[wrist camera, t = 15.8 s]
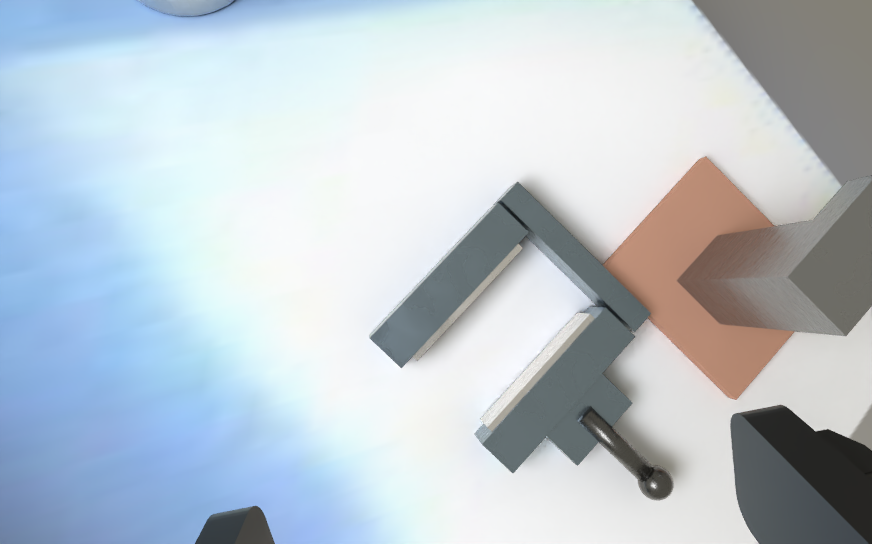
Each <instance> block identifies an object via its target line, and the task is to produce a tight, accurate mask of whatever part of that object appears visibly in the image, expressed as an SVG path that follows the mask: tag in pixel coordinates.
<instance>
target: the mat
mask: <svg viewBox="0 0 872 544" xmlns="http://www.w3.org/2000/svg"><path fill="white" fill-rule="evenodd" d="M773 226H774V225H773V224H772V223H771V222H770V221H769V220H768V219H767V218H766V217H765V216H764V215H763V214H762V213H761V212H760V211H759V210H758V209H757V208H756V207H755V206H754V205H753V204H752V203H751V202H750V201H749V200H748V199H747V198H746V197H745V196H744V195H743V194H742V193H741V192H740V191H739V190H738V189H737V188H736V187H735V186H734V184H733V183H732V182H731V181H730V180H729V179H728V178H727V177H726V176H725V175H724V174H723V173H722V172H721V171H720V170H719V169H718V168H717V167H716V166H715V165H714V164H713V163H712V162H711V161H710V160H709V159H708V158H707V157H704V158H701V159H699V160H698V161H697V162H696V163H695V164H694V165H693V166H692V168H691V169H690V170H689V171H688V172H687V173H686V174H685V175H684V176H683V177H682V179H681V180H680V181H679V182H678V183H677V184H676V185H675V186H674V187H673V188H672V189H671V191H670V192H669V193H668V194H667V195H666V196H665V197H664V198H663V199H662V200H661V202H660V203H659V204H658V205H657V206H656V207H655V208H654V209H653V210H652V211H651V212H650V214H649V215H648V216H647V217H646V218H645V219H644V220H643V221H642V222H641V223H640V225H639V226H638V227H637V228H636V229H635V230H634V231H633V232H632V233H631V234H630V235H629V237H628V238H627V239H626V240H625V241H624V242H623V243H622V244H621V245H620V246H619V248H618V249H617V250H616V251H615V252H614V253H613V254H612V255H611V256H610V257H609V258H608V260H607V261H606V262H605V263H604V264H603V266H604V267H605V268H606V269H607V270H608V271H609V272H610V273H611V274H612V275H613V276H614V277H615V278H616V279H617V280H618V281H619V282H620V283H621V284H622V285H623V286H624V287H625V288H626V289H627V290H628V291H629V292H630V293H631V294H632V295H633V296H634V297H635V298H636V299H637V300H638V301H639V302H640V303H641V304H642V305H643V306H644V307H645V308H646V309H647V310H648V311H649V312H650V313H651V314H650V316H649V317H648V319H649V320H650V321H651V322H652V323H653V324H654V325H655V326H656V327H657V328H658V329H659V330H660V331H661V332H662V333H663V334H665V335H666V336H667V337H668V338H669V339H670V340H671V341H672V342H673V343H674V344H675V345H676V346H677V347H678V348H679V349H680V350H681V351H682V352H683V353H684V354H685V355H686V356H687V357H688V358H689V359H690V360H691V361H692V362H693V363H694V364H695V365H696V366H697V367H698V368H699V369H700V370H701V371H702V372H703V373H704V374H705V375H706V376H707V377H708V378H709V379H710V380H711V381H712V382H713V383H714V384H715V385H716V386H717V387H718V388H719V389H720V390H721V391H722V392H723V393H724V394H725V395H726V396H728V397H729V398H732V399H735V400H736V399H737V398H738V397H739V396H740V395H741V394H742V392H743V391H744V390H745V389H746V388H747V387H748V385H749V384H750V383H751V382H752V381H753V380H754V378H755V377H756V376H757V375H758V374H759V372H760V371H761V370H762V369H763V368H764V367H765V365H766V364H767V363H768V362H769V361H770V360H771V358H772V357H773V356H774V355H775V354H776V353H777V351H778V350H779V349H780V348H781V347H782V346H783V344H784V343H785V342H786V341H787V340H788V339H789V337H790V336H791V335H792V334H793V333H794V332H795V331H786V330H775V329H765V328H754V327H744V326H733V325H722V324H719V323H718V322H717V321H716V320H715V319H714V318H713V317H712V316H711V315H710V314H709V313H708V312H707V311H706V310H705V309H704V308H703V307H702V306H701V305H700V304H699V303H698V302H697V301H696V300H695V299H694V298H693V297H692V296H691V295H690V294H689V293H688V292H687V291H686V290H685V289H684V288H683V287H682V286H681V285H680V284H679V283H678V282H677V281H676V280H677V279H678V278H679V277H680V276H681V275H682V274H683V273H684V272H685V271H686V269H687V268H688V267H689V266H690V265H691V264H692V263H693V262H694V261H695V259H696V258H697V257H698V256H699V255H700V254H701V253H702V252H703V251H704V249H705V248H706V247H707V246H708V245H709V244H710V243H711V242H712V241H713V239H714V238H715V237H716V236H717V235H724V234H730V233H736V232H742V231H749V230H755V229H761V228H767V227H773Z"/></svg>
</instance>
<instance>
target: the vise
mask: <svg viewBox="0 0 872 544" xmlns="http://www.w3.org/2000/svg"><path fill="white" fill-rule="evenodd" d="M525 236H526V237H527V238H528V239H529V240H530V241H531V242H532V243H533V244H534V245H535V246H536V247H537V248H538V249H540V250H541V251H542V252H543V253H544V254H545V255H546V256H547V257H548V258H549V259H550V260H551V261H552V262H553V263H554V264H555V265H556V266H557V267H558V268H559V269H560V270H561V271H562V272H563V273H564V274H565V275H566V276H567V277H568V278H569V279H570V280H571V281H572V282H573V283H574V284H575V285H576V286H577V287H578V288H579V289H580V290H581V291H582V292H583V293H584V294H585V295H587V296H588V297H589V298H590V299H591V300H592V301H593V302H594V303H595V304H596V305H597V306H598V307H591V306H590V307H589V308H588V309H587V310H586V311H585V312H584V313H576V314H575V316H574V317H573V318H572V319H571V320H570V321H569V322H568V323H567V324H566V325H565V327H564V328H563V329H562V330H561V331H560V332H559V333H558V334H557V335H556V336H555V338H554V339H553V340H552V341H551V342H550V343H549V344H548V345H547V346H546V347H545V349H544V350H543V351H542V352H541V353H540V354H539V355H538V356H537V357H536V358H535V360H534V361H533V362H532V363H531V364H530V365H529V366H528V367H527V368H526V369H525V371H524V372H523V373H522V374H521V375H520V376H519V377H518V378H517V379H516V380H515V382H514V383H513V384H512V385H511V386H510V387H509V388H508V389H507V390H506V391H505V393H504V394H503V395H502V396H501V397H500V398H499V399H498V400H497V401H496V402H495V404H494V405H493V406H492V407H491V408H490V409H489V410H488V411H487V412H486V413H485V415H484V416H483V417H482V418H481V421H482V422H483V423H484V424H483V425H482V426H481V427H480V428H479V429H478V430H477V432H476V433H475V435H476V437H477V438H478V439H479V441H480V442H481V443H482V445H483V446H484V447H486V448H487V449H488V450H489V451H490V452H491V453H492V454H493V455H494V456H495V457H496V458H497V459H498V460H499V461H500V462H501V463H502V464H504V465H505V466H506V467H507V468H508V469H509V470H510V471H511V472H512V473H514V472H515V471H516V470H517V469H518V467H519V466H520V465H521V464H522V463H523V462H524V461H525V460H526V458H527V457H528V456H529V455H530V454H531V453H532V452H533V451H534V449H535V448H536V447H537V446H538V445H539V444H540V443H541V442H542V440H543V439H544V438H545V437H547V438H548V439H549V440H550V441H551V442H552V443H553V444H554V445H555V446H556V447H557V448H558V449H559V450H560V451H561V452H562V453H563V454H564V455H566V456H567V457H568V458H569V459H570V460H571V461H573V462H574V463H575V464H576V465H577V466H578V465H579V464H580V462H581V461H582V460H583V459H584V458H585V457H586V456H587V454H588V453H589V452H590V451H591V450H592V449H593V448H594V446H595V445H596V444H597V443H598V442H599V443H600V444H602V445H603V446H604V447H605V448H606V449H607V450H608V451H609V452H610V453H611V454H612V455H613V456H614V457H615V458H616V459H617V460H618V461H619V462H620V463H621V464H622V465H623V466H624V467H625V468H627V469H628V470H629V471H630V472H631V473H632V474H633V475H634V476H635V477H636V478H637V479H638V485H639V488H640V490H641V491H642V493H643V494H644V495H645V496H646V497H648V498H650V499H652V500H663V499H665V498H667V497H668V496H669V495H670V494H671V492H672V490H673V479H672V477H671V475H670V473H669V472H668V471H667V470H666V469H664V468H663V467H661V466H658V465H651V464H650V463H649V462H648V461H647V460H646V459H645V458H644V457H643V456H642V455H641V454H640V453H639V452H638V451H637V450H636V449H635V448H634V447H633V446H631V445H630V444H629V443H628V442H627V441H626V440H625V439H624V438H623V437H622V436H621V435H620V434H619V433H618V432H617V431H616V430H615V429H614V428H613V427H612V426H613V425H614V424H615V422H616V421H617V420H618V419H619V418H620V417H621V416H622V415H623V413H624V412H625V411H626V410H627V409H628V408H629V407H630V405H631V404H632V402H631V401H630V400H629V399H628V398H627V397H626V396H625V395H624V394H623V393H622V392H621V391H620V390H619V389H618V388H617V387H616V386H614V385H613V384H612V383H611V382H610V381H609V380H608V379H607V378H606V377H605V376H604V375H603V374H602V373H603V372H604V371H605V370H606V369H607V367H608V366H609V365H610V364H611V363H612V362H613V361H614V360H615V358H616V357H617V356H618V355H619V354H620V353H621V352H622V351H623V349H624V348H625V347H626V346H627V345H628V344H629V343H630V342H631V340H632V339H633V338H634V337H635V336H634V335H633V334H632V333H631V332H630V331H636V330H637V329H638V328H639V327H640V326H641V324H642V323H643V322H644V321H645V320H646V319H647V318H648V317H649V316H650V314H651V313H650V312H649V311H648V310H647V309H646V308H645V307H644V306H643V305H642V304H641V303H640V302H639V301H638V300H637V299H636V298H635V297H634V296H633V295H632V294H631V293H630V292H629V291H628V290H627V289H626V288H625V287H624V286H623V285H622V284H621V283H620V282H619V281H618V280H617V279H616V278H615V277H614V276H613V275H612V274H611V273H610V272H609V271H608V270H607V269H606V268H605V267H604V266H603V265H602V264H601V263H600V262H599V261H598V260H597V259H595V258H594V257H593V256H592V255H591V254H590V253H589V252H588V251H587V250H586V249H585V248H584V247H583V246H582V245H581V244H580V243H579V242H578V241H577V240H576V239H575V238H574V237H573V236H572V235H571V234H570V233H569V232H568V231H567V230H566V229H565V228H564V227H563V226H562V225H561V224H560V223H559V222H558V221H557V220H556V219H555V218H554V217H553V216H552V215H551V214H550V213H549V212H548V211H547V210H546V209H545V208H544V207H543V206H542V205H541V204H540V203H539V202H538V201H537V200H536V199H535V198H534V197H533V196H532V195H531V194H530V193H528V192H527V191H526V190H525V189H524V188H523V187H522V186H521V185H520V184H519V183H518V182H517V183H515V184H514V185H513V186H511V187H510V188H509V189H508V190H507V191H506V192H505V193H504V194H503V195H502V196H501V197H500V198H499V199H498V200H497V201H496V203H495V204H494V206H493V207H491V208H490V209H489V210H488V211H487V212H486V213H485V214H484V215H483V216H482V217H481V218H480V219H479V220H478V221H477V222H476V224H475V225H474V226H473V227H472V228H471V229H470V230H469V231H468V232H467V233H466V234H465V235H464V236H463V237H462V238H461V239H460V240H459V241H458V242H457V243H456V245H455V246H454V247H453V248H452V249H451V250H450V251H449V252H448V253H447V254H446V255H445V256H444V257H443V258H442V259H441V260H440V261H439V262H438V263H437V264H436V266H435V267H434V268H433V269H432V270H431V271H430V272H429V273H428V274H427V275H426V276H425V277H424V278H423V279H422V280H421V281H420V282H419V283H418V284H417V285H416V287H415V288H414V289H413V290H412V291H411V292H410V293H409V294H408V295H407V296H406V297H405V298H404V299H403V300H402V301H401V302H400V303H399V304H398V305H397V306H396V308H395V309H394V310H393V311H392V312H391V313H390V314H389V315H388V316H387V317H386V318H385V319H384V320H383V321H382V322H381V323H380V324H379V325H378V326H377V327H376V329H375V330H374V331H373V332H372V333H371V334H370V339H371V340H372V341H373V342H374V343H375V344H376V345H377V346H379V347H380V348H381V349H382V350H383V351H384V352H385V353H386V354H387V355H388V356H389V357H390V358H391V359H392V360H393V361H394V362H395V363H397V364H398V365H399V366H400V367H401V368H402V367H403V366H404V365H405V364H406V363H407V362H408V361H409V360H410V359H411V357H414V358H415V359H416V360H417V361H418V360H419V359H420V358H421V357H422V356H423V355H424V353H425V352H426V351H427V350H428V349H429V348H430V347H431V346H432V345H433V344H434V343H435V342H436V341H437V340H438V338H439V337H440V336H441V335H442V334H443V333H444V332H445V331H446V330H447V329H448V328H449V327H450V326H451V325H452V324H453V322H454V321H455V320H456V319H457V318H458V317H459V316H460V315H461V314H462V313H463V312H464V311H465V310H466V309H467V307H468V306H469V305H470V304H471V303H472V302H473V301H474V300H475V299H476V298H477V297H478V296H479V295H480V294H481V293H482V291H483V290H484V289H485V288H486V287H487V286H488V285H489V284H490V283H491V282H492V281H493V280H494V279H495V278H496V276H497V275H498V274H499V273H500V272H501V271H502V270H503V269H504V268H505V267H506V266H507V265H508V264H509V263H510V262H511V260H512V259H513V258H514V257H515V256H516V255H517V254H518V253H519V252H520V251H521V250H522V249H523V248H522V247H521V246H520V245H519V244H518V243H519V242H520V241H521V240H522V239H523V238H524V237H525Z"/></svg>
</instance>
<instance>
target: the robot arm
mask: <svg viewBox="0 0 872 544" xmlns="http://www.w3.org/2000/svg"><path fill="white" fill-rule="evenodd" d="M137 1H139V2H141V3H142V4H144V5H145V6H147V7H149V8H152V9H154V10H157V11H159V12H162V13H166V14H171V15H177V16H198V15H202V14H207V13H211V12H214V11H216V10H219V9H221V8H223V7H225V6H227V5H229V4H230V3H232V2H233V1H234V0H137ZM731 438H732V450H733V462H734V473H735V485H736V495H737V500H738V504H739V507H740V510H741V513H742V515H743V518H744V520H745V522H746V524H747V526H748V528H749V530H750V531H751V533H752V534H753V536H754V537H755V538H756V540H757V541H758V543H759V544H872V451H871V450H870V449H869V448H867V447H866V446H865V445H863V444H861V443H858V442H856V441H853V440H851V439H849V438H847V437H845V436H842V435H840V434H838V433H835V432H833V431H831V430H828V429H827V430H822V431H816V432H815V431H814V430H813V429H812V428H811V427H810V426H808V425H807V424H806V423H805V422H804V421H803V420H801V419H800V418H799V417H798V416H797V415H796V414H794V413H793V412H792V411H791V410H790V409H788V408H787V407H785V406H783V405H778V406H772V407H767V408H762V409H757V410H752V411H747V412H742V413H737V414H734V415H733V416H732V418H731ZM195 544H275V543H274V541H273V538H272V535H271V532H270V529H269V526H268V524H267V521H266V518H265V516H264V513H263V512H262V510H261V509H260V508H259V507H258V506H253V507H248V508H242V509H237V510H232V511H227V512H222V513H217V514H213V515H211V516H210V517H209V519H208V520H207V522H206V524H205V526H204V527H203V529H202V531H201V533H200V535H199V537H198V539H197V541H196V543H195Z"/></svg>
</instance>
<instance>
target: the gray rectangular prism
mask: <svg viewBox="0 0 872 544" xmlns="http://www.w3.org/2000/svg"><path fill="white" fill-rule="evenodd" d="M676 281H677V282H678V283H679V284H680V285H681V286H682V287H683V288H684V289H685V290H686V291H687V292H688V293H689V294H690V295H691V296H692V297H693V298H694V299H695V300H696V301H697V302H698V303H699V304H700V305H701V306H702V307H703V308H704V309H705V310H706V311H707V312H708V313H709V314H710V315H711V316H712V317H713V318H714V319H715V320H716V321H717V322H718V323H719V324H722V325H733V326H744V327H754V328H765V329H775V330H786V331H797V332H807V333H818V334H829V335H839V336H847V334H848V333H849V332H850V331H851V330H852V328H853V327H854V326H855V325H856V324H857V323H858V321H859V320H860V319H861V318H862V317H863V316H864V314H865V313H866V312H867V311H868V310H869V308H870V307H871V306H872V175H871V176H867V177H862V178H858V179H854V180H849V181H847V182H846V183H845V184H844V185H843V186H842V187H841V189H840V190H839V191H838V192H837V193H836V194H835V195H834V197H833V198H832V199H831V200H830V201H829V202H828V203H827V204H826V206H825V207H824V208H823V209H822V210H821V211H820V212H819V214H818V215H817V216H816V217H815V218H814V219H813V220H811V221H805V222H798V223H792V224H786V225H780V226H773V227H767V228H761V229H755V230H749V231H742V232H736V233H730V234H724V235H717V236H716V237H715V238H714V239H713V241H712V242H711V243H710V244H709V245H708V246H707V247H706V248H705V249H704V251H703V252H702V253H701V254H700V255H699V256H698V257H697V258H696V259H695V261H694V262H693V263H692V264H691V265H690V266H689V267H688V268H687V269H686V271H685V272H684V273H683V274H682V275H681V276H680V277H679V278H678V279H677V280H676Z"/></svg>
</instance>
